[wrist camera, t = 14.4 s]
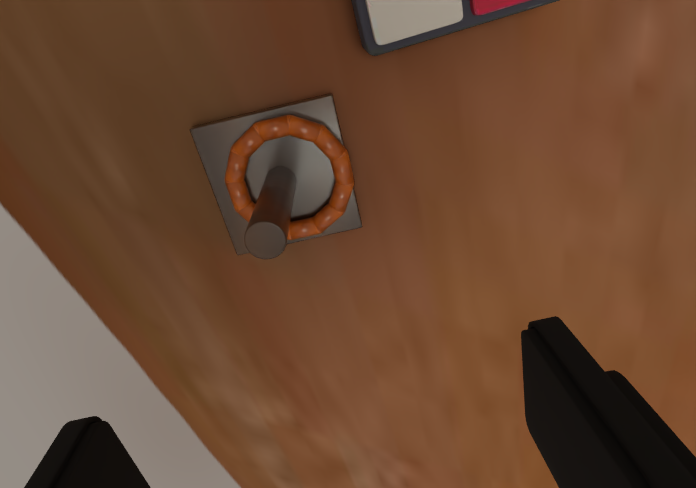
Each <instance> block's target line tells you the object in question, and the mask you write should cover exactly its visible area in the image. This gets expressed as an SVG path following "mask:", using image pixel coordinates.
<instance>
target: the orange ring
mask: <svg viewBox="0 0 696 488" xmlns="http://www.w3.org/2000/svg"><path fill="white" fill-rule="evenodd" d="M285 136H293V137H296V138H299V139H303V140H306V141H309V142H313V143H314V144H315V145H316V146H317V147H318V148H319V149H320V150H321V151H322V152H323V153H324V154H325V155H326V156H327V157H328V158H329V159H330V162H331V166H332V170H333V174H334V178H335V185H334V188H333V191H332V195H331V198H330V201H329V203H328V204H327V205H326V206H325V207H323V208H322V209H321V210H320V211H319V212H318V213H317V214H316V215H315V216H313V217H311V218H306V219H302V220H297V221H293V222H290V225H289V231H288V237H287V239H288V240H294V239H299V238H303V237H308V236H312V235H317V234H321V233H322V232H324V231H325V230H326V229H327V228H328V227H329V226H330V225H332V224H333V223H334V222H335V221H336V220H337V219H338V218H340V217H341V216H342V215H343V214H344V213H345V211H346V208H347V205H348V202H349V199H350V196H351V193H352V190H353V187H354V177H353V172H352V168H351V164H350V159H349V155H348V151H347V149H346V148H345V147H344V146H343V145H342V144H341V143H340V142H339V141H338V140H337V139H336V137H335V136H334V135H333V134H332V133H331V132H330V131H329V130H328V129H327V128H326V127H325V126H324V125H322V124H319V123H316V122H313V121H310V120H306V119H303V118H300V117H297V116H293V115H284V116H280V117H276V118H272V119H267V120H263V121H259V122H256V123H254V124H253V125H252V126H251V127H250V128H249V129H248V130H247V131H246V132H245V133H244V134H243V135H242V136H241V137H240V138H239V139H238V140H237V141H236V142H235V143H234V144H233V145H232V147H231V149H230V153H229V158H228V163H227V168H226V173H225V178H224V180H225V184H226V187H227V189H228V192H229V195H230V198H231V200H232V203H233V206H234V209H235V211H236V212H237V213H238V214H239V215H241V216H242V217H243V218H244V219H245V220H246V221H247V222H249V221H250V218H251V215H252V213H253V210H254V207H255V205H256V204H255V203H254V202H253V201H252V200H251V197H250V195H249V192H248V189H247V186H246V183H245V180H244V178H245V174H246V169H247V165H248V161H249V157H250V156H251V155H252V154H253V153H254V152H255V151H256V150H257V149H258V148H259V147H260V146H261V145H262V144H263V143H264V142H265V141H268V140H272V139H277V138H281V137H285Z"/></svg>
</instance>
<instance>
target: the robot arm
mask: <svg viewBox="0 0 696 488" xmlns="http://www.w3.org/2000/svg"><path fill="white" fill-rule="evenodd" d="M521 342H522V361H523V380H524V399H525V417H526V422H527V426H528V429H529V431H530V433H531V436H532V437H533V439H534V441H535V443H536V445H537V447H538V449H539V451H540V452H541V454H542V456H543V458H544V460H545V462H546V464H547V466H548V468H549V469H550V471H551V473H552V475H553V477H554V479H555V481H556V483H557V485H558V486H559V488H696V457H695V456H694V455H693V454H692V453H691V451H690V450H689V449H688V448H687V447H686V446H685V445H684V444H683V442H682V441H681V440H680V439H679V438H678V437H677V436H676V435H675V433H674V432H673V431H672V430H671V429H670V428H669V427H668V425H667V424H666V423H665V422H664V421H663V420H662V419H661V418H660V416H659V415H658V414H657V413H656V412H655V411H654V410H653V409H652V407H651V406H650V405H649V404H648V403H647V402H646V401H645V399H644V398H643V397H642V396H641V395H640V394H639V393H638V392H637V390H636V389H635V388H634V387H633V386H632V385H631V384H630V383H629V381H628V380H627V379H626V378H625V377H624V376H623V375H622V374H620V373H619V372H617V371H615V370H613V371H606V372H604V370H603V369H602V368H601V367H600V366H599V364H598V363H597V362H596V361H595V360H594V358H593V357H592V356H591V355H590V354H589V352H588V351H587V350H586V349H585V348H584V347H583V345H582V344H581V343H580V342H579V341H578V339H577V338H576V337H575V336H574V335H573V333H572V332H571V331H570V330H569V329H568V327H567V326H566V325H565V324H564V323H563V322H562V320H561V319H560V318H558V317H556V316H555V317H550V318H546V319H541V320H536V321H532V322H529V325H528V329H527V330H523V331H522V332H521ZM24 488H150V486H149V485H148V483H147V482H146V480H145V478H144V477H143V475H142V474H141V472H140V471H139V469H138V468H137V466H136V465H135V463H134V462H133V460H132V458H131V457H130V455H129V454H128V452H127V451H126V449H125V448H124V446H123V444H122V443H121V441H120V440H119V438H118V437H117V435H116V434H115V432H114V431H113V429H112V427H111V426H110V424H109V423H108V422H106V421H102V420H101V419H100V418H99V417H97V416H93V417H88V418H83V419H78V420H74V421H70V422H68V423H66V424H65V425H64V426H63V428H62V429H61V430H60V432H59V434H58V435H57V437H56V438H55V440H54V442H53V443H52V445H51V446H50V448H49V450H48V451H47V453H46V454H45V456H44V458H43V459H42V461H41V462H40V464H39V465H38V467H37V469H36V470H35V472H34V473H33V475H32V476H31V478H30V479H29V481H28V483H27V484H26V486H25V487H24Z"/></svg>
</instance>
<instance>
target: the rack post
mask: <svg viewBox="0 0 696 488" xmlns="http://www.w3.org/2000/svg"><path fill="white" fill-rule="evenodd" d="M284 115H293V116H297V117H300V118H303V119H306V120H310V121H313V122H316V123H319V124H322V125H324V126H325V127H326V128H327V129H328V130H329V131H330V132H331V133H332V134H333V135H334V136H335V137H336V139H337V140H338V141H339V142H340V143H341V144H342V145H343V146H344V144H343V140H342V135H341V131H340V126H339V122H338V118H337V113H336V109H335V105H334V100H333V96H332V93H329V94H325V95H321V96H316V97H312V98H308V99H304V100H300V101H296V102H292V103H287V104H283V105H279V106H275V107H271V108H267V109H263V110H258V111H254V112H250V113H246V114H242V115H238V116H234V117H229V118H225V119H221V120H217V121H213V122H209V123H205V124H200V125H196V126H194V127H192V128H191V129H190V132H191V134H192V137H193V140H194V142H195V145H196V147H197V150H198V153H199V155H200V158H201V161H202V163H203V166H204V169H205V171H206V174H207V176H208V179H209V182H210V184H211V187H212V190H213V192H214V195H215V198H216V200H217V203H218V205H219V208H220V211H221V213H222V216H223V219H224V221H225V224H226V227H227V229H228V232H229V234H230V237H231V240H232V242H233V245H234V248H235V250H236V253H237V255H241V254H245V253H251V254H252V255H254V256H255V257H258V258H261V259H272V258H275V257H277V256H279V255H280V254H281V253H282V252H283V251H284V249H285V247H286V244H290V243H294V242H299V241H303V240H307V239H312V238H316V237H321V236H325V235H330V234H334V233H339V232H343V231H347V230H352V229H356V228H361V227H362V223H361V218H360V214H359V210H358V205H357V201H356V196H355V192H354V188H353V190H352V193H351V196H350V199H349V202H348V205H347V208H346V211H345V213H344V214H343V215H342V216H341V217H340V218H338V219H337V220H336V221H335V222H334V223H333V224H332V225H330V226H329V227H328V228H327V229H326V230H325V231H324V232H322V233H321V234H317V235H312V236H308V237H303V238H299V239H294V240H288V239H287V237H288V231H289V225H290V222H293V221H297V220H302V219H306V218H311V217H313V216H315V215H316V214H317V213H318V212H319V211H320V210H321V209H322V208H323V207H325V206H326V205H327V204H328V203H329V201H330V198H331V195H332V191H333V188H334V185H335V178H334V174H333V170H332V166H331V162H330V159H329V158H328V157H327V156H326V155H325V154H324V153H323V152H322V151H321V150H320V149H319V148H318V147H317V146H316V145H315V144H314V143H313V142H309V141H306V140H303V139H299V138H296V137H293V136H285V137H281V138H277V139H272V140H268V141H265V142H264V143H263V144H262V145H261V146H260V147H259V148H258V149H257V150H256V151H255V152H254V153H253V154H252V155H251V156H250V157H249V161H248V165H247V169H246V174H245V178H244V180H245V183H246V186H247V189H248V192H249V195H250V197H251V200H252V201H253V202H254V203H255V204H256V205H255V207H254V210H253V213H252V215H251V218H250V221H249V222H247V221H246V220H245V219H244V218H243V217H242V216H241V215H239V214H238V213H237V212H236V211H235V209H234V206H233V203H232V200H231V198H230V195H229V192H228V189H227V187H226V184H225V180H224V178H225V173H226V168H227V163H228V158H229V153H230V149H231V147H232V145H233V144H234V143H235V142H236V141H237V140H238V139H239V138H240V137H241V136H242V135H243V134H244V133H245V132H246V131H247V130H248V129H249V128H250V127H251V126H252V125H253V124H254V123H256V122H259V121H263V120H267V119H272V118H276V117H280V116H284Z"/></svg>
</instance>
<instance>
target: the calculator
mask: <svg viewBox="0 0 696 488" xmlns="http://www.w3.org/2000/svg"><path fill="white" fill-rule="evenodd" d="M351 1H352V5H353V9H354V13H355V18H356V22H357V26H358V30H359V35H360V39H361V43H362V46H363V48H364V49H365V50H366V51H367V52H368V53H369V54H370V55H373V56H377V55H381V54H384V53H387V52H390V51H394V50H397V49H400V48H404V47H407V46H410V45H414V44H417V43H420V42H424V41H427V40H430V39H433V38H437V37H440V36H443V35H447V34H450V33H453V32H457V31H460V30H463V29H466V28H470V27H473V26H476V25H480V24H483V23H486V22H490V21H493V20H496V19H500V18H503V17H506V16H509V15H513V14H516V13H519V12H523V11H526V10H529V9H533V8H536V7H539V6H543V5H546V4H549V3H552V2H556V1H559V0H351Z"/></svg>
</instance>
